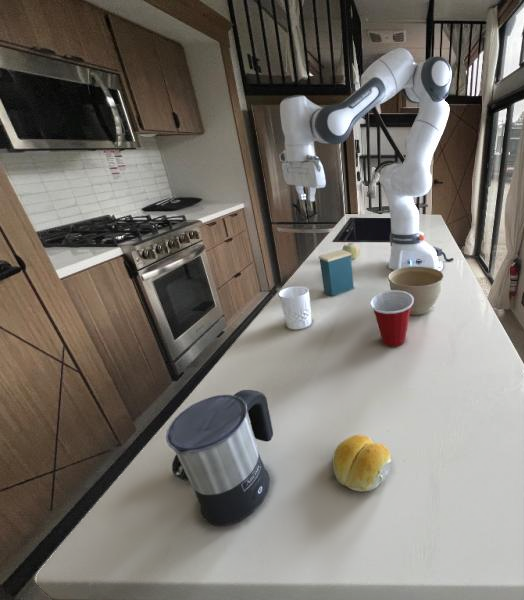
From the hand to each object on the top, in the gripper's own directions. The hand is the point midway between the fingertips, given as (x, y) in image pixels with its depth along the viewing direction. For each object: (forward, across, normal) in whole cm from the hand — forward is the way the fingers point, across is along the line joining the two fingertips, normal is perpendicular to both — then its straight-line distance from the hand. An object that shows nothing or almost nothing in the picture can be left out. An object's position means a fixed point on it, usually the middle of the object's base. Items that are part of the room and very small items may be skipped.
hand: (307, 200), depth 109 cm
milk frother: (+29, -58, +55) cm, 85 cm away
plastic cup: (+29, -50, +10) cm, 59 cm away
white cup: (+29, -24, +22) cm, 44 cm away
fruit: (+29, +11, -24) cm, 40 cm away
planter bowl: (+29, -42, -8) cm, 52 cm away
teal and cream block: (+29, -13, 0) cm, 32 cm away
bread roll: (+29, -72, +38) cm, 87 cm away
